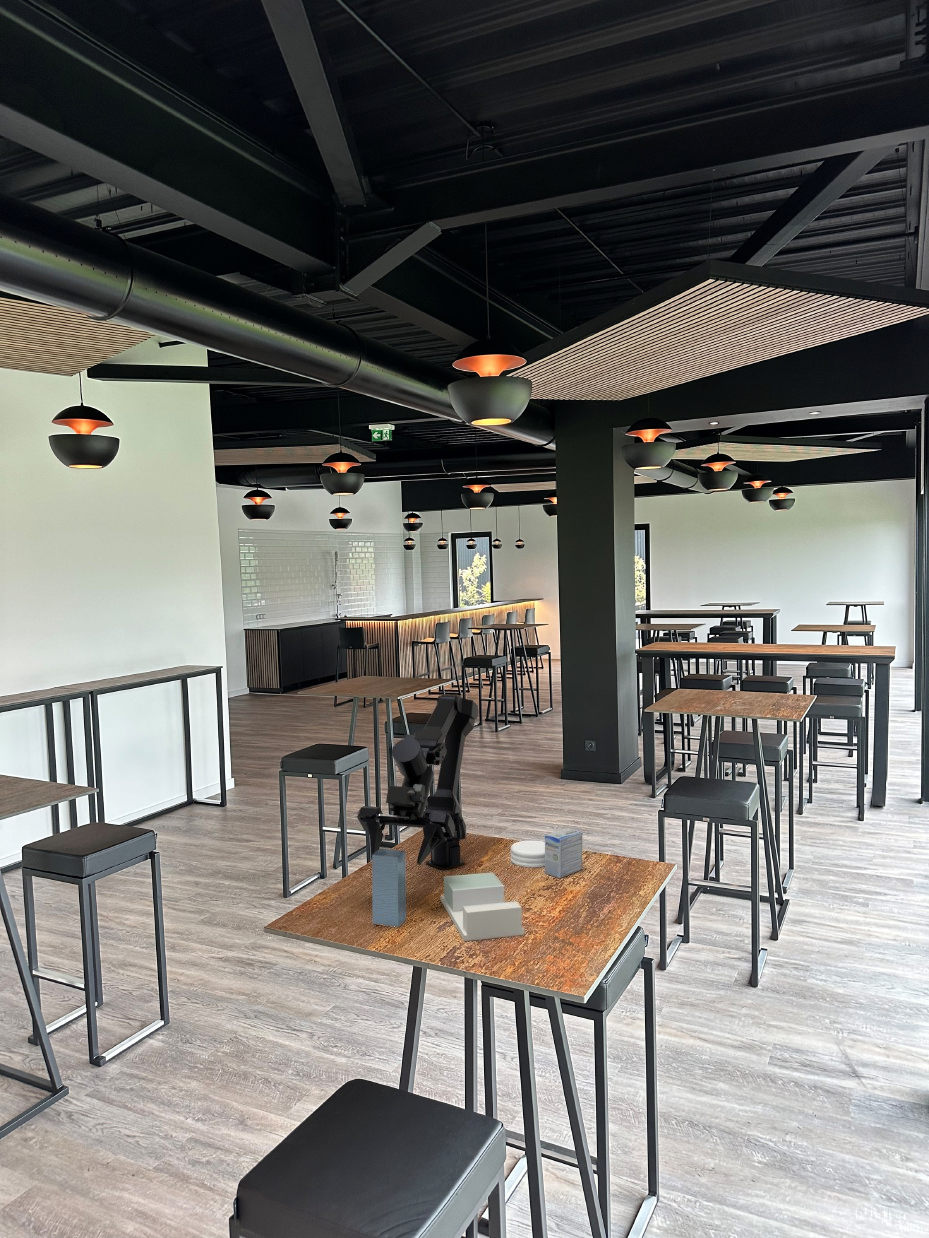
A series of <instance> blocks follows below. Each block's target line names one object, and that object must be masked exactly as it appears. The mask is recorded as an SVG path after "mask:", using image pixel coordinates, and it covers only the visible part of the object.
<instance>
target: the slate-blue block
mask: <svg viewBox="0 0 929 1238" xmlns="http://www.w3.org/2000/svg"><path fill="white" fill-rule="evenodd" d="M371 865H372V866H371V869H372V870H371V871H372V872H371V873H372V875H371V876H372V877H371V878H372V879H371V881H372V887H371V888H372V890H371V892H372V896H371V897H372V899H371V900H372V924H373V923H375V924H384V925H387V926H395V927H399V926H400V925H401V926H402V925H403V924H404V922H405V921H406V920H407V912H406V911H407V908H406V907H407V906H406V905H407V902H406V901H407V900H406V899H407V898H406V897H407V896H406V892H407V891H406V889H407V888H406V885H407V884H406V875H407V873H406V872H407V871H406V868H407V867H406V865H407V864H406V850H401V849H391V848H390V849H388V848H379V850H378V851H377V852H375V853H374V854H373V855H372V859H371ZM401 926H400V927H401ZM400 927H399V928H400Z"/></svg>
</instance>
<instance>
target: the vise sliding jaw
mask: <svg viewBox="0 0 929 1238" xmlns="http://www.w3.org/2000/svg"><path fill="white" fill-rule="evenodd" d="M443 895H444V897H445V899H446V900H447V902H448V904H449V905H450V907H451V909H452V911H453V912H454V911H463V906H472V905H483V904H493V903H503V902H505V885H504V884H503V883H502V882H501V881H500V879H499V878H498V876H496V874H495V873H494V872H493V871H492V872H482V873H469V874H461V875H460V874H459V875H446V876H443Z"/></svg>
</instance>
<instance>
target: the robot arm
mask: <svg viewBox="0 0 929 1238" xmlns="http://www.w3.org/2000/svg"><path fill="white" fill-rule="evenodd" d="M478 716H479V706H478V704H477V703H476V702H475V701H474V700H473V699H468V698H465V697H462V696H461V695H458V694H444V693H443V694H441V695H438V697H437V699H436V705H435V707H434V709H433V711H432V712H431V715H430V717H429V719H428V721H427V723H426V724H425V727H424V728H421V729H420V730H418V731H416V732H415V733H414V734H409V733H408V734H406V735H405V737H404V738H402V739H400V740H399V741H397V742H396V743H395V744H394V745H393V746H392V748H391V756H392V758H393V759H394V763H395V765H396V766H397V769H398V771H399V773H400V775H402V776H403V780H402V783H401V786H398V785H388V786H387V792H386V793H387V794H386V798H385V804H389V809H390V812H393V814H385V813H383V811H382V809H381V807H380V806H369V805H364V806H363V805H362V806H361V807H360V808H359V809H358V812H357V815H356V818H357V819H358V821H359V823H360V825H361V827H362V829H363V830H364V832H367V834H368V835H369V841H370V843H369V844H370V858H371V860H372V855H373V854H374V853H375V852H377V851H378V850H379V849H381V848H380V847H381V846H382V841H383V839H384V836H385V835H384V833H383V831H384V830H385V827H386V826H397V827H407V828H408V827H409V828H410V827H411V828H421V829H422V832H423V837H422V839H423V840H422V842H421V846H420V848H419V852H418V854H417V859H416V860H417V861H416V864H417V865H418V866H420V865H422V864H423V862H424V861H425V860H426V858H427V857H428V856H429V855H430V859H428V860H426V861H425V865H428V866H431V867H433V868H437V869H440V870H443V871H446V870H449V869H453V868H455V867H458V866H459V867H460V866H462V865H464V864H465V863H466V861H465V860H462V859H461V845H460V842H461V840H465V839H467V825H466V822H465V819H464V818H463V815H462V808H461V805H460V803H459V801H458V799H457V793H458V788H459V787H458V786H459V782H460V781H459V780H460V775H461V767H462V761H463V755H464V748H465V742H466V737H467V736H468V735H469V734H470V733H471V732H473V731H472V730H473V729H474V727H475V724H476V720H477V719H478ZM431 766H440V767H439V772H438V773H439V774H438V779H437V784H436V790H435V792H434V793H433V794H432V795H429V794H430V790H431V787H432V784H434V782H435V779H434V774H435V772H434V771H433V769H432V767H431Z"/></svg>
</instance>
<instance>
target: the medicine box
mask: <svg viewBox="0 0 929 1238" xmlns="http://www.w3.org/2000/svg"><path fill="white" fill-rule="evenodd" d="M544 842H545V867H544V874H545V875H548V876H551V877H554V878H557V879H562V878H564V877H567V876H569V875H572V874H575V873H576V872H579V871H581V869H582V870H583V832H582V831H580V830H577V829H574V828H571V827H570V828H569V827H566V828H562V829H559V830H557V831H553V832H550V833H547V834H544Z"/></svg>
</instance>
